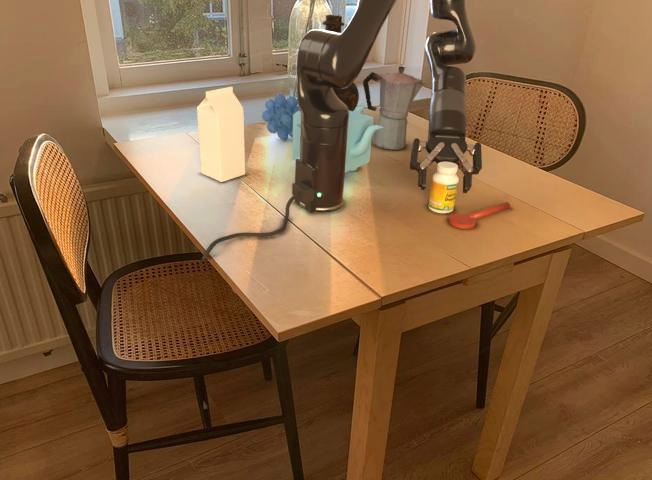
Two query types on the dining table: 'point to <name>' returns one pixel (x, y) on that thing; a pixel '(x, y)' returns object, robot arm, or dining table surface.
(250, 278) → the dining table surface
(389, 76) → the moka pot
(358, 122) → the teakettle
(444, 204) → the supplement bottle
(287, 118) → the grapes
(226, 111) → the milk carton
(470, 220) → the red spoon
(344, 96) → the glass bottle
